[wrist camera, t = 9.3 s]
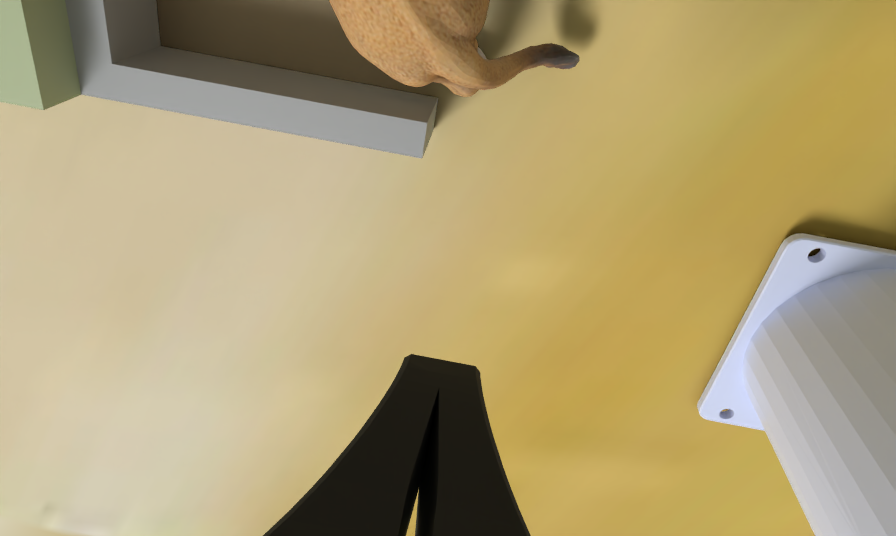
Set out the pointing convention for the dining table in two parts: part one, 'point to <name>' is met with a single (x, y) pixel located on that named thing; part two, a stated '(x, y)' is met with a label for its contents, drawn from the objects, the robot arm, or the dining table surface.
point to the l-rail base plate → (190, 77)
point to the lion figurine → (437, 43)
